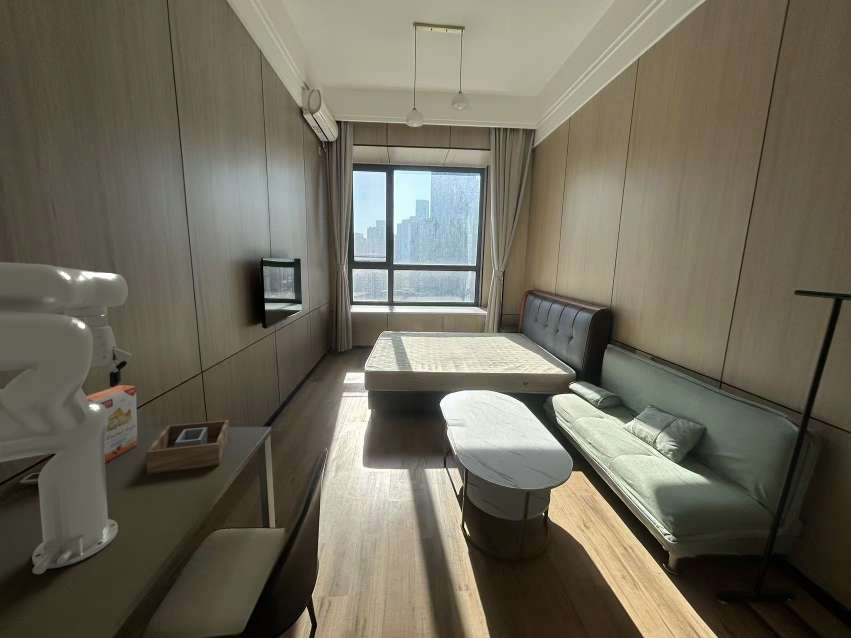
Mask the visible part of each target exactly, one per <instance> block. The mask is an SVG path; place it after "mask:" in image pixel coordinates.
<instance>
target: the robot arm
mask: <svg viewBox="0 0 851 638" xmlns="http://www.w3.org/2000/svg"><path fill="white" fill-rule="evenodd" d="M128 295H129V287H128V284H127V281H126V279H125V278H124V276H123V275H121V274H117V273H110V272H103V271H102V272H100V271H93V270H86V269H79V268H68V267H64V266H63V267H61V266H55V265H51V264H42V263H25V262H24V263H23V262H21V263H20V262H8V261H7V262H4V261H0V372H4V371H6V372H7V371H17V370H18V371H19V370H24V371H22V372H21V373H19V374H18V375H17V376H16V377H14V378H13V379H12V380H11V381H9V382H8V383H7V384H6V385H5V387H4V388H0V463H3V462H10V461H15V460H21V459H26V458H33V457H37V456H45V455H50V454H55V455H53V457H51V459H49V461H47V463H46V464H45V465H44V466H43V468H42V469H41V471H40V472H39V475H38V479H37V483H38V495H39V508H40V519H41V520H40V521H41V533H42V542H41V543H39V545H38V546H37V547H36V548H35V550H34V551H33V553H32V559H31V560H32V564H33V565H34V567H33V568H32V573H33V574H35V575H41V574H44V573H45V571H46V570H47V569H48V570H49V569H57V568H63V567H66V566H69V565H73V564H76V563H78V562H80V561H83V560H85V559H87V558H89V557H91V556H93V555H94V554H97V553H98V552H99V551H101V550H102V549H104V548H105V547H107V545H109V544H110V543H111V542H112V541H113V540H114V539H115V537H116V536H117V533H118V532H119V525H118V523H117V522H116V520H114V519H111V518H109V516H108V500H107V499H108V498H107V482H106V480H107V479H106V478H107V477H106V463H105V457H104V449H105V437H106V430H107V423H108V412H107V409H106V407H105V406H104V405H102V404H100V403H98V402H93V401H88V399H87V397H86V396H87V394H85V392H84V390H83V389H82V386H83V384H84V382H85V381H86V379H87V376H88V374H89V372H90V368H97V367H99V368H100V367H107V368H108V369H109V370H110V372H109V386H110V388H113V387H116V386H119V385H120V383H121V381H122V374H121V373H122V372H121V370H122V369H123V368H125V367H126V366H127V365H129V362H130V361H131V359H132V358H133V354H132V353H131V352H128V351H125V350H123V349H120V348H117V343H116V342H117V341H116V338H115V335H114V331H113V329H112V326H110V325H109V322H108V308H110V307H119V306H122V305H124V303H126V300H127V298H128ZM60 312H61V313H62V312H64V314H59V313H60ZM118 356H119V357H121V358H122V360H121V361H120V362H118V361H117V358H118Z"/></svg>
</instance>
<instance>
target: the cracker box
mask: <svg viewBox="0 0 851 638" xmlns="http://www.w3.org/2000/svg"><path fill="white" fill-rule="evenodd" d="M86 397H87V399H88V401H93V402H98V403H100V404H102V405H104V406H105V407H106V409H107V412H108V423H107V430H106V437H105V449H104V457H105V464H106V463H107V462H110V461H111V460H114V459H115V458H116V457H119V456H121V455H123V454H124V453H125V452H128V451H129V450H131V449H133V448H135V447H137V446H138V418H137V417H138V416H137V413H138V412H137V411H138V410H137V386H135V385H123V384H118V385H116V386H115V387H110V388H108V389H107V388H106V389H103V390H101V391H98V392H95V393H92V394H89V395H86Z"/></svg>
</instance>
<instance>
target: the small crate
mask: <svg viewBox="0 0 851 638" xmlns="http://www.w3.org/2000/svg"><path fill="white" fill-rule="evenodd" d="M202 444H207V427H204V428H194V429H184V430H183V431H182V433H181V434H180V436H179V437H178V439H177V440H176V442H175V448H176V447H185V446H193V445H202Z"/></svg>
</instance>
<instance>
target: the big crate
mask: <svg viewBox="0 0 851 638" xmlns="http://www.w3.org/2000/svg"><path fill="white" fill-rule="evenodd" d="M204 427H207V444H202V445H193V446H185V447H176V448H175V442H176V440H177V439H178V437H179V436H180V434H181V433H182V431H183V430H184V429H194V428H204ZM229 438H230V420H229V419H224V420H223V419H222V420H212V421H201V422H191V423H179V424H178V423H177V424H168V425H166V427H165V428H164V429H163V430H162V432H161V433H160V434H159V435H158V437H157V438H156V440H155V441H154V442H153V443H152V444H151V446H150V447H149V448H148V449H147V450H146V452H145V455H146V458H145V459H146V475H147V476H150V475H151V476H152V475H157V474H158V475H159V474H165V473H166V474H167V473H173V472H181V471H187V470H188V471H189V470H193V469H195V470H196V469H202V467H203V468H209V467H216V466H217V465H218V466H220V465H219V464H221V461H222V459H223V456H224V454H225V451H226V448H227V445H226V444H228V442H229V440H228V439H229ZM227 441H228V442H227ZM225 447H226V448H225ZM224 450H225V451H224ZM223 453H224V454H223ZM208 466H209V467H208Z"/></svg>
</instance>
